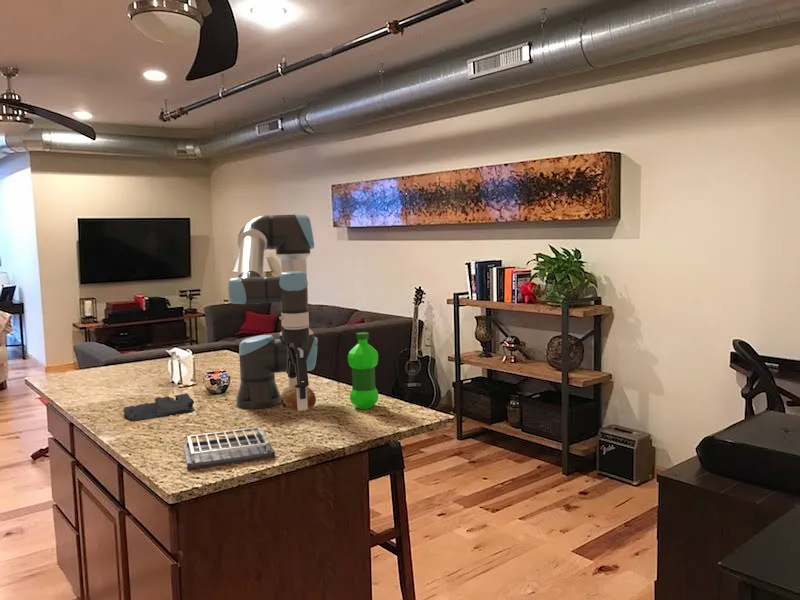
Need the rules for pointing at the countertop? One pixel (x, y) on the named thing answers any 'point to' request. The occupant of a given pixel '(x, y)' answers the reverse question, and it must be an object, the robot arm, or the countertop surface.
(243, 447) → the cooling rack
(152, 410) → the dark slate chunk
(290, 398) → the bread roll
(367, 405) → the plastic bottle
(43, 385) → the countertop surface
